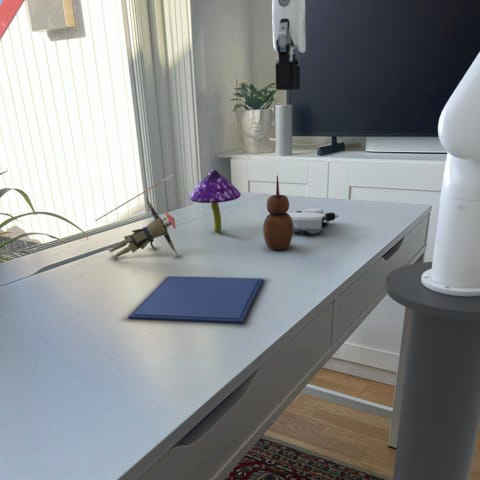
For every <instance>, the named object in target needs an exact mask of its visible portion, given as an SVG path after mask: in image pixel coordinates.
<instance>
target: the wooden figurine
mask: <svg viewBox="0 0 480 480" xmlns="http://www.w3.org/2000/svg"><path fill="white" fill-rule="evenodd" d="M275 185H276V187H275V194H273V195H270V196H269V197H268V198H267V200H266V210H267V213H269V214H267V215H266V216H265V219H264V221H263V228H262V232H263V233H262V234H263V237H264V242H265V244H266V246H267V248H269V250H271V251H283V250H286V249H288V248H289V247H290V245H291V243H292V239H293V235H294V233H293V221H292V218H291V216H290V215H289V214H288V213H289V212H288V211H289V210H290V201H289V198H288V197H287V195H285V194H280V184H279V175H278V174H277V175H276V184H275Z"/></svg>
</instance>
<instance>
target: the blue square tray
mask: <svg viewBox="0 0 480 480" xmlns="http://www.w3.org/2000/svg"><path fill="white" fill-rule="evenodd" d="M263 282H264V278H260V277H259V278H257V277H256V278H255V277H253V278H251V277H213V276H175V275H174V276H171V275H170V276H169V275H168V276H167V277H166V278H165V279H164V280H163V281H162V282H160V284H159V285H158V286H157V287H156V288H155V289H154V290H153V291H152V292H151V293H150V294H149V295H148V296H147V297H146V298H145V299H143V301H142V302H141V303H140V304H139V305H138V306H137V307H136V308H135V309H134V310H133V311H132V312H131V313H130V314H129V315H128V319H130V320H152V321H153V320H154V321H176V322H198V323H200V322H201V323H220V324H244V322H245V319H246V317H247V315H248V313H249V311H250V309H251V307H252V305H253V303H254V300H255V299H256V296H257V294H258V292H259V291H260V288H261V286H262V284H263Z"/></svg>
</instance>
